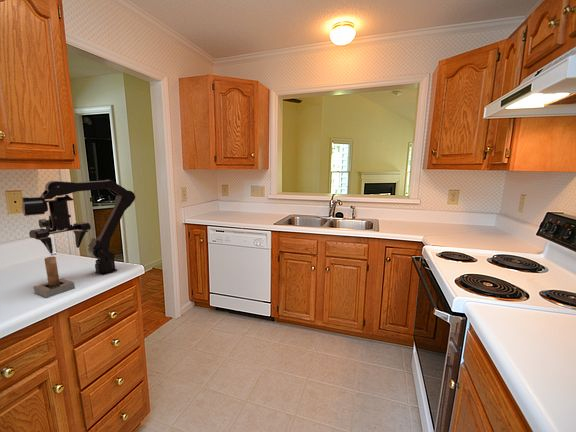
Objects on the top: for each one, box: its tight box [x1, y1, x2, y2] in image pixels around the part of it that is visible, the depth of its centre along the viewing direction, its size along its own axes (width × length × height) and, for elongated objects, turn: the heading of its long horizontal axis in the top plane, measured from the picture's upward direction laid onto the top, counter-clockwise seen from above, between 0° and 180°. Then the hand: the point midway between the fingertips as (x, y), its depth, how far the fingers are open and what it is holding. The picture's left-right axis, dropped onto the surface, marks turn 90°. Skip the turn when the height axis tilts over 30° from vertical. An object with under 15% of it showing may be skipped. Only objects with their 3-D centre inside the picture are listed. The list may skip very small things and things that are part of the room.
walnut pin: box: [44, 256, 60, 288], centre depth 103 cm, size 3×3×13 cm
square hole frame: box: [33, 277, 76, 299], centre depth 104 cm, size 9×9×2 cm
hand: (65, 250), depth 111 cm, fingers open, 9 cm apart
